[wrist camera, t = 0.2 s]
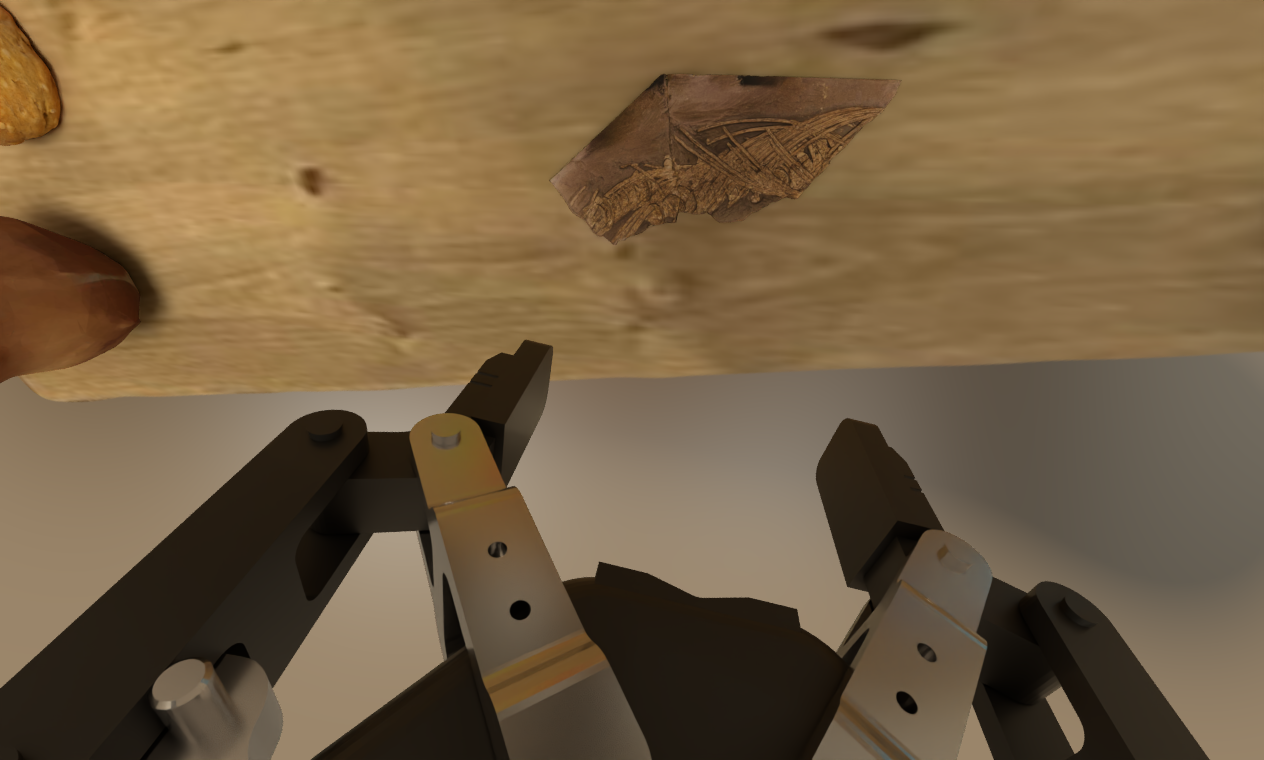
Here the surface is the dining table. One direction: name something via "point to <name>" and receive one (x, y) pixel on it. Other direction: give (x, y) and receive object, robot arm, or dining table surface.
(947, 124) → the dining table surface
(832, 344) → the dining table surface
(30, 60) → the bagel
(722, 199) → the wooden fragment
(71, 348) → the butternut squash
